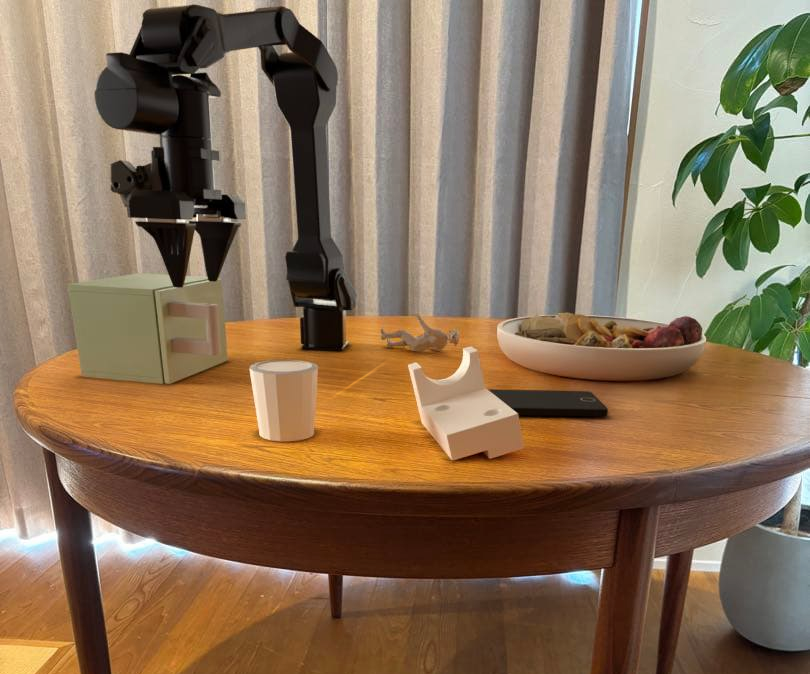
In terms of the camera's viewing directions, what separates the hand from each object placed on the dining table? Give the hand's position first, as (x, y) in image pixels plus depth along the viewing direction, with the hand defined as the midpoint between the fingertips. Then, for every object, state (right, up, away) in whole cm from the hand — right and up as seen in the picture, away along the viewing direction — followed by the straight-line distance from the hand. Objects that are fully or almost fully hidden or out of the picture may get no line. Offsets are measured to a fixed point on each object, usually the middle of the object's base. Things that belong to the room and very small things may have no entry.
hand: (196, 284), depth 92 cm
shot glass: (+13, -20, -13) cm, 27 cm away
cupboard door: (0, -8, +11) cm, 14 cm away
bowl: (+54, -5, +23) cm, 59 cm away
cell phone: (+39, -15, -2) cm, 42 cm away
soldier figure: (+27, -1, +29) cm, 40 cm away
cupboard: (-9, -7, +13) cm, 18 cm away
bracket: (+31, -21, -14) cm, 40 cm away
